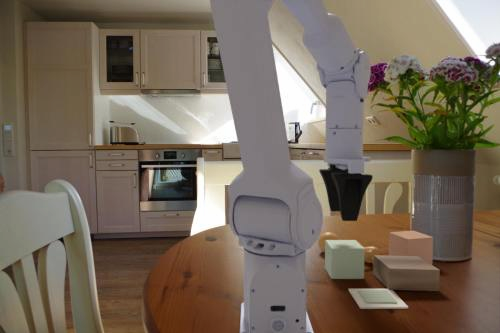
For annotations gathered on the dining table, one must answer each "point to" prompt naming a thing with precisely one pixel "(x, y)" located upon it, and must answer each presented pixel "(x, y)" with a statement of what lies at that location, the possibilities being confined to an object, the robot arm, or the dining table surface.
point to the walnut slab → (406, 273)
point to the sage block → (344, 259)
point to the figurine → (331, 236)
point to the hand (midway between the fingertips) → (342, 215)
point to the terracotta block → (411, 245)
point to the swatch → (377, 299)
